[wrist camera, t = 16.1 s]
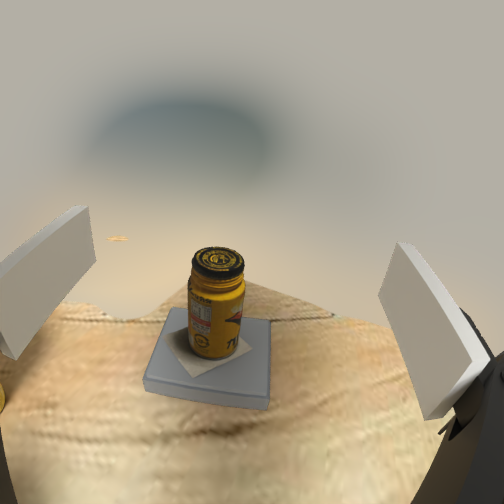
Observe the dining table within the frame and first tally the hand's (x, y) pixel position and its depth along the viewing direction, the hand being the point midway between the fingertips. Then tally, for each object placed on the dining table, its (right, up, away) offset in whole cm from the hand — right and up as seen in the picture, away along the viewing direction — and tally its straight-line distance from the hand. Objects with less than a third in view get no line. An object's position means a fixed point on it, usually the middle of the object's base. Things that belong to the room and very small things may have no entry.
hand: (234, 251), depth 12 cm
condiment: (-5, -11, +23) cm, 26 cm away
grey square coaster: (-4, -14, +24) cm, 28 cm away
